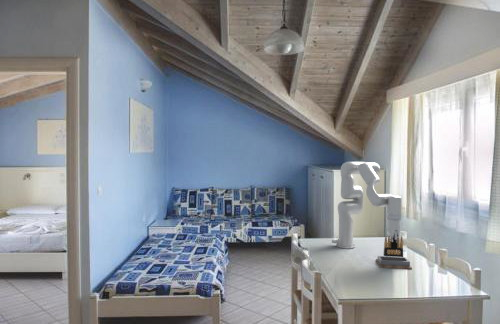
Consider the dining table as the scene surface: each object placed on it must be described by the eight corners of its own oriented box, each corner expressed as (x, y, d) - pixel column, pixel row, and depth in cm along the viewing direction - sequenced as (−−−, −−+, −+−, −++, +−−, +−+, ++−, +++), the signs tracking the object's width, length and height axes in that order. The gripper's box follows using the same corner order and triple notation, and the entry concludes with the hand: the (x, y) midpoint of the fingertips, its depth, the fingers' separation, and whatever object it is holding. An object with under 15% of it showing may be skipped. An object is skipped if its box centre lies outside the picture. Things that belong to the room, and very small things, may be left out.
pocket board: (380, 267, 209) (380, 261, 209) (375, 260, 223) (375, 254, 223) (411, 269, 206) (412, 263, 206) (405, 262, 220) (405, 256, 220)
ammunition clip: (384, 256, 214) (384, 235, 214) (383, 255, 216) (383, 234, 216) (403, 257, 213) (403, 236, 213) (402, 256, 215) (402, 235, 214)
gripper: (384, 214, 222) (383, 244, 223) (390, 219, 207) (389, 251, 207) (397, 215, 221) (396, 245, 222) (404, 219, 206) (403, 252, 206)
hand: (393, 248), depth 214 cm, fingers closed on ammunition clip, 1 cm apart
